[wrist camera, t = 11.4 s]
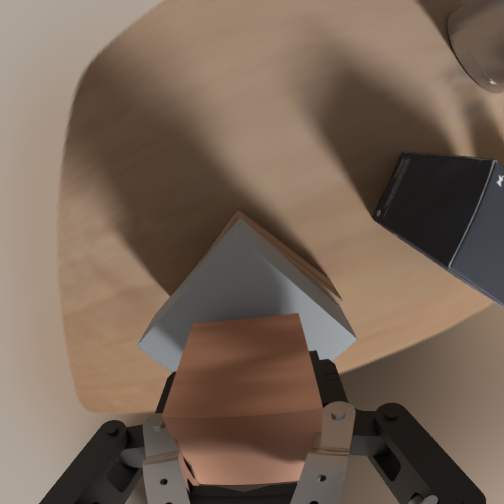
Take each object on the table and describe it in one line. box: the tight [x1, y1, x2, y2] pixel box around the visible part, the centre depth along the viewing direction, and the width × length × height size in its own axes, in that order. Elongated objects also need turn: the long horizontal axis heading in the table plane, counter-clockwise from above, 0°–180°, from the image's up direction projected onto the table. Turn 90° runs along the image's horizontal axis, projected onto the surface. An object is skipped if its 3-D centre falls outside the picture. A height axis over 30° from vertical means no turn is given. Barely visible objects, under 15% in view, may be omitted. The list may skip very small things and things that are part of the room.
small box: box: [373, 152, 504, 308], centre depth 16 cm, size 11×6×10 cm, turn 66°
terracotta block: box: [162, 313, 323, 485], centre depth 11 cm, size 5×5×6 cm
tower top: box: [137, 218, 358, 372], centre depth 17 cm, size 9×9×4 cm
